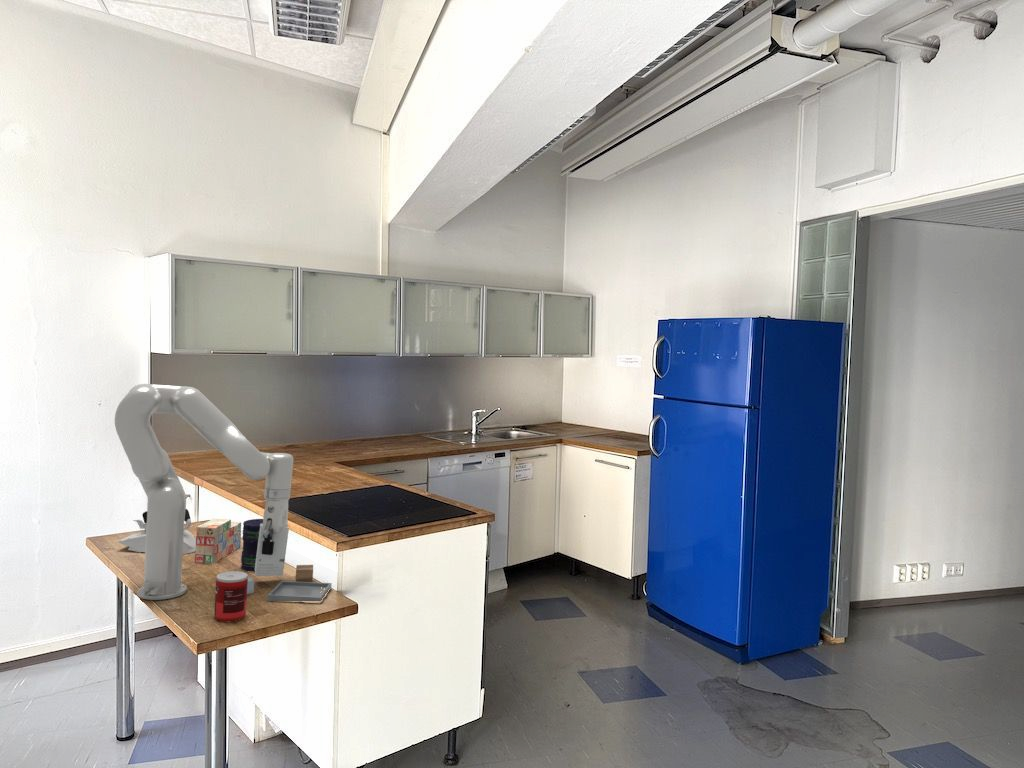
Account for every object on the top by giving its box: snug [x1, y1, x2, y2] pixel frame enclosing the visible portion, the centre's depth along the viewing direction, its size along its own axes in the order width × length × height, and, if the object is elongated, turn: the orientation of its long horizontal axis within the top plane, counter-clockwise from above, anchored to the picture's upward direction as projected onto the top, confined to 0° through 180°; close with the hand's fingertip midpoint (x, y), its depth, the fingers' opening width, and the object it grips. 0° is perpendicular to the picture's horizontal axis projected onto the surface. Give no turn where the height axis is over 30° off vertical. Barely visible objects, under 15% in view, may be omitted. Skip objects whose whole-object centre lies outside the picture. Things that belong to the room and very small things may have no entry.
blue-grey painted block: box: [247, 577, 255, 595], centre depth 196 cm, size 8×4×4 cm, turn 55°
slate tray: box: [266, 580, 333, 602], centre depth 196 cm, size 13×15×2 cm
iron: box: [118, 508, 196, 555], centre depth 232 cm, size 11×24×15 cm, turn 92°
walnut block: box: [295, 564, 314, 582], centre depth 206 cm, size 5×5×5 cm
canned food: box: [213, 570, 249, 623], centre depth 176 cm, size 8×8×11 cm
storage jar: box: [240, 518, 263, 572], centre depth 219 cm, size 10×10×15 cm
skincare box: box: [254, 524, 290, 577], centre depth 204 cm, size 8×6×15 cm
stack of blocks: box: [194, 518, 242, 564], centre depth 230 cm, size 21×6×12 cm, turn 179°
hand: (271, 550), depth 205 cm, fingers closed on skincare box, 7 cm apart
